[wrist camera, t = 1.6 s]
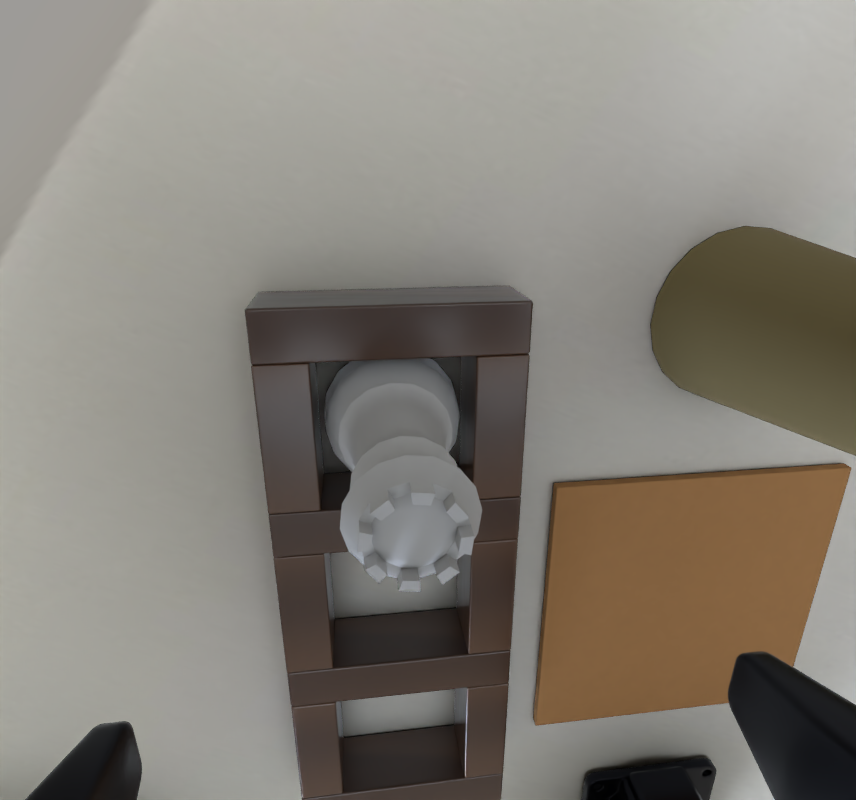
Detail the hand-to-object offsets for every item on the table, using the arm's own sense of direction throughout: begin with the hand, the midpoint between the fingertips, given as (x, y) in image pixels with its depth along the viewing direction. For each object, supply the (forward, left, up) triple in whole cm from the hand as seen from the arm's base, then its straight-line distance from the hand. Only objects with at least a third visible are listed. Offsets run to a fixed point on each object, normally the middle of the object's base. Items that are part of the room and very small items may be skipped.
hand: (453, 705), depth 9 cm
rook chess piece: (0, 0, -12) cm, 12 cm away
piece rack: (-6, 0, -12) cm, 14 cm away
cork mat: (-9, -12, -12) cm, 19 cm away
